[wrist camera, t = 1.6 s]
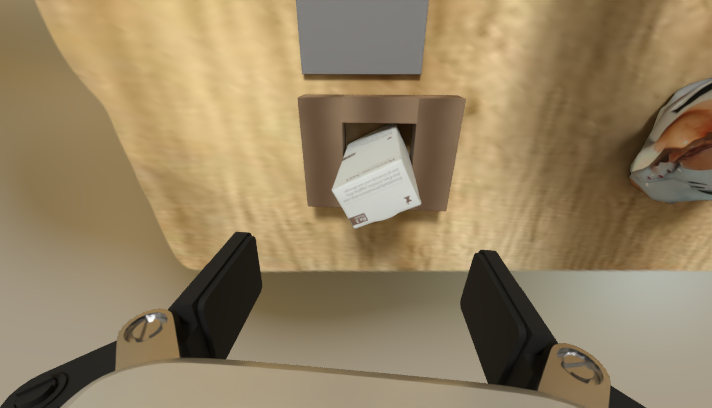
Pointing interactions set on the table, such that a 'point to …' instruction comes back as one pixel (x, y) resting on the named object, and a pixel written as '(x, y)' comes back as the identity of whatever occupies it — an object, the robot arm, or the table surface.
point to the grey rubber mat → (361, 36)
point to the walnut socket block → (427, 113)
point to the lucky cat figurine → (678, 149)
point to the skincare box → (376, 178)
